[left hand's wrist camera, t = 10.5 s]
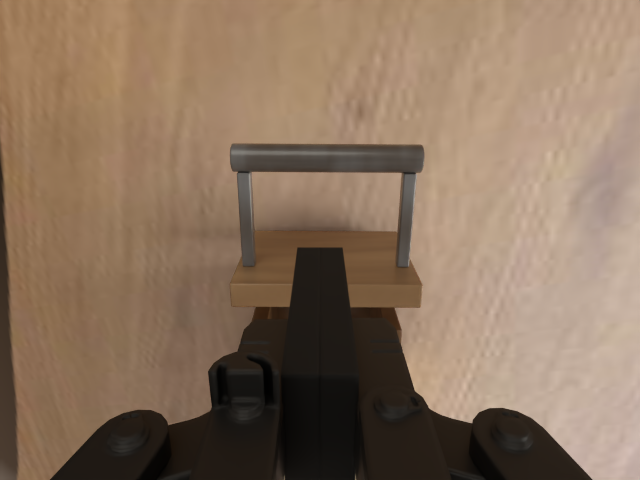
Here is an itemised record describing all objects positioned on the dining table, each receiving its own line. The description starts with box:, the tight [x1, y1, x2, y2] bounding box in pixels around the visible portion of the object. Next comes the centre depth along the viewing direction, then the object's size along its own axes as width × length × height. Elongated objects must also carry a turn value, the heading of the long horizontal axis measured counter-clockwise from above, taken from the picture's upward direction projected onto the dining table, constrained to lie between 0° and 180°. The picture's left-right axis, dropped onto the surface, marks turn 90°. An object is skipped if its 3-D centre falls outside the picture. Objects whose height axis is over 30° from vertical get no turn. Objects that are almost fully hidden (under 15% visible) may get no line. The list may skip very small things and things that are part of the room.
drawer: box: [230, 144, 424, 343], centre depth 25 cm, size 22×9×7 cm, turn 0°
